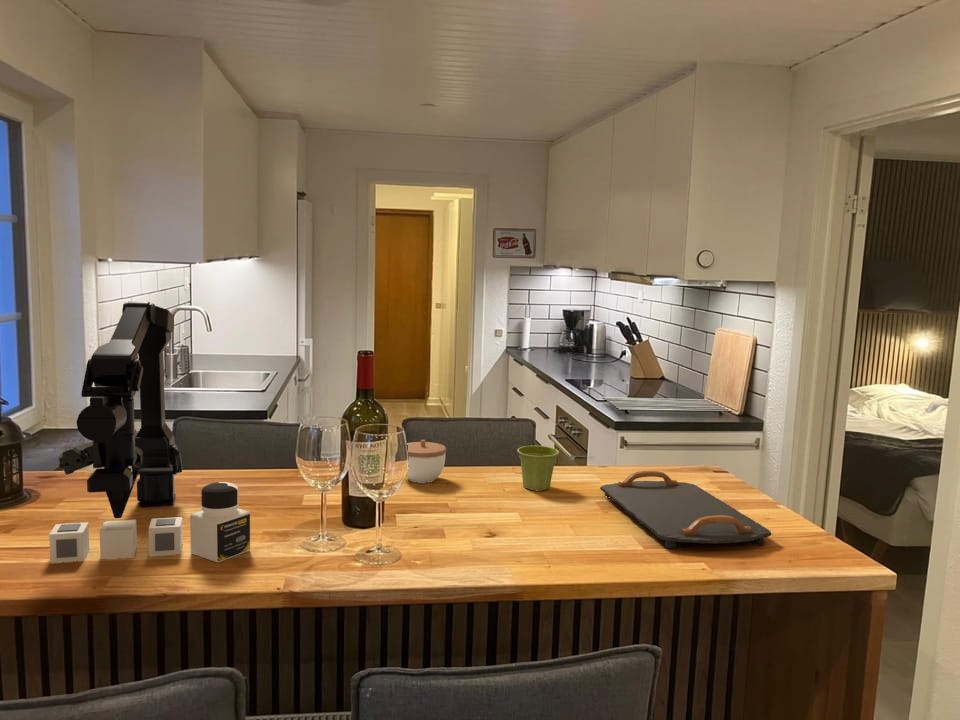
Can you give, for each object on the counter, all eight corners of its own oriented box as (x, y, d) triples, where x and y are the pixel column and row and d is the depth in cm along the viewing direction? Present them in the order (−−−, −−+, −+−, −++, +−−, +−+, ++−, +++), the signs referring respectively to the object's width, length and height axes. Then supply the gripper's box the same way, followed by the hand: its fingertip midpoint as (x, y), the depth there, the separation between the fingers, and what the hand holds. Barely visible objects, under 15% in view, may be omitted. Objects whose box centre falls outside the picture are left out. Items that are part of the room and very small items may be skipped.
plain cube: (136, 547, 139) (136, 519, 138) (133, 558, 134) (132, 529, 134) (105, 549, 138) (104, 521, 137) (100, 560, 133) (99, 531, 132)
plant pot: (558, 494, 178) (560, 456, 177) (516, 492, 178) (518, 454, 177) (555, 482, 187) (557, 446, 186) (515, 480, 187) (516, 444, 186)
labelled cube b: (89, 550, 137) (88, 521, 136) (83, 561, 132) (82, 531, 131) (57, 552, 135) (55, 523, 135) (50, 564, 130) (48, 533, 130)
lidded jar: (403, 472, 192) (404, 433, 190) (448, 474, 191) (449, 436, 189) (394, 484, 181) (395, 444, 180) (441, 487, 180) (442, 447, 179)
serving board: (782, 552, 148) (785, 520, 147) (666, 558, 143) (668, 525, 142) (686, 491, 186) (688, 465, 185) (591, 494, 181) (593, 467, 180)
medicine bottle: (217, 563, 133) (217, 493, 131) (189, 554, 137) (188, 485, 135) (251, 551, 139) (250, 484, 137) (223, 542, 143) (222, 476, 141)
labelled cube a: (182, 544, 141) (182, 515, 140) (180, 555, 136) (180, 525, 135) (152, 546, 140) (151, 517, 139) (149, 557, 135) (148, 527, 134)
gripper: (73, 416, 140) (76, 503, 142) (49, 442, 122) (52, 540, 124) (142, 415, 143) (144, 499, 145) (128, 439, 125) (130, 535, 127)
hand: (118, 517), depth 135 cm, fingers closed
